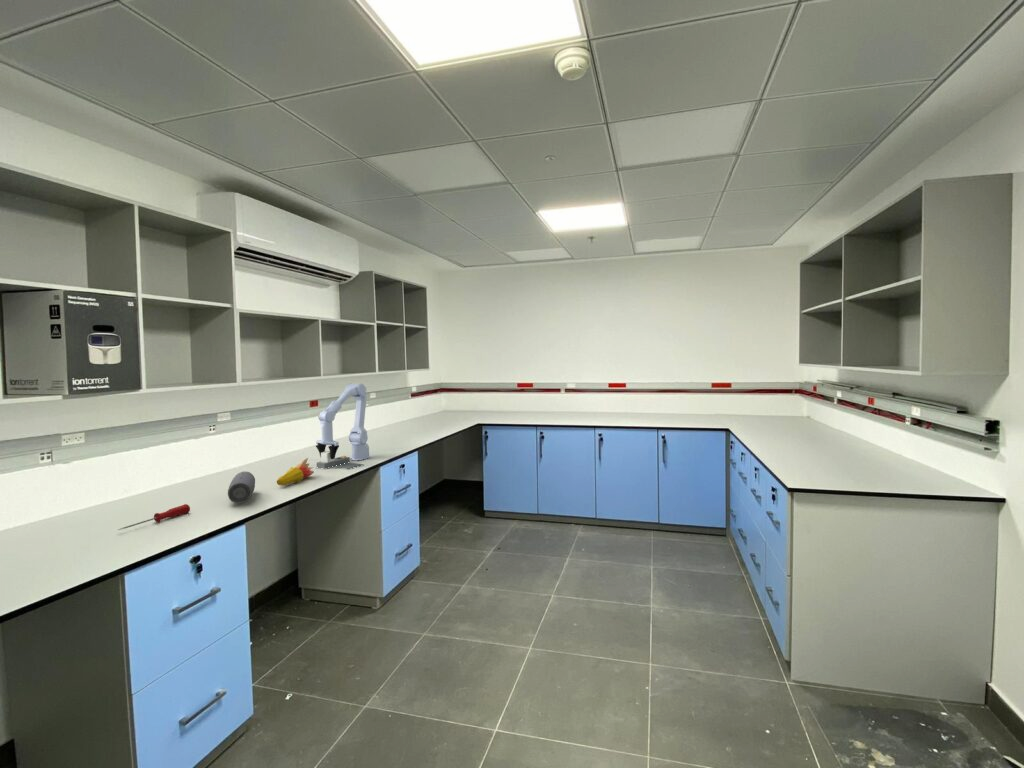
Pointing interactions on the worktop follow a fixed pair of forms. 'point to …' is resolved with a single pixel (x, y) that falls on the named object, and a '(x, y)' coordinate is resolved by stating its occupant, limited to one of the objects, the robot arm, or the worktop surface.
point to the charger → (326, 457)
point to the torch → (296, 473)
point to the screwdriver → (167, 514)
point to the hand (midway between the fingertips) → (327, 458)
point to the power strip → (334, 462)
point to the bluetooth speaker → (241, 487)
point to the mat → (348, 465)
